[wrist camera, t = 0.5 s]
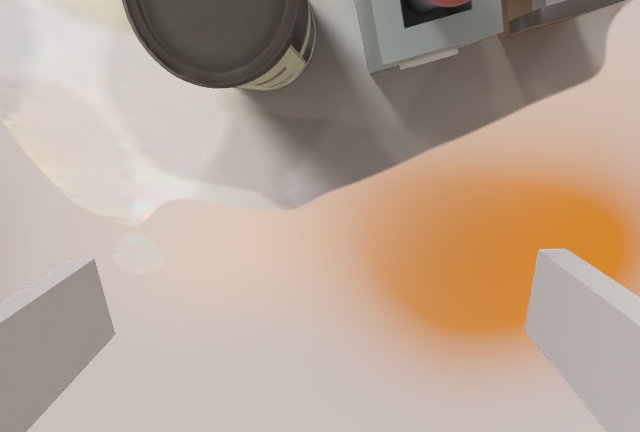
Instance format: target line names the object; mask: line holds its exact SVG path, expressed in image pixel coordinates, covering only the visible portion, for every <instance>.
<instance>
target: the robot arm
mask: <svg viewBox="0 0 640 432" xmlns="http://www.w3.org/2000/svg"><path fill="white" fill-rule="evenodd" d="M525 332H526V333H527V334H528V335H529V337H530V338H531V339H532V340H533V342H534V343H535V344H536V345H537V347H538V348H539V349H540V350H541V351H542V353H543V354H544V355H545V356H546V358H547V359H548V360H549V362H550V363H551V364H552V365H553V366H554V368H555V369H556V370H557V371H558V373H559V374H560V375H561V376H562V378H563V379H564V380H565V381H566V383H567V384H568V385H569V386H570V388H571V389H572V390H573V391H574V392H575V394H576V395H577V396H578V397H579V399H580V400H581V401H582V402H583V404H584V405H585V406H586V407H587V408H588V410H589V411H590V412H591V414H592V415H593V416H594V417H595V419H596V420H597V421H598V422H599V424H600V425H601V426H602V427H603V429H604V430H605V431H606V432H640V297H638V296H637V295H635V294H634V293H632V292H631V291H629V290H628V289H626V288H625V287H623V286H622V285H620V284H619V283H617V282H616V281H614V280H613V279H611V278H610V277H608V276H607V275H605V274H603V273H602V272H600V271H599V270H598V269H596V268H595V267H593V266H591V265H590V264H589V263H587V262H586V261H584V260H583V259H581V258H580V257H578V256H577V255H575V254H574V253H572V252H570V251H569V250H567V249H565V248H564V249H538V254H537V260H536V265H535V271H534V277H533V283H532V288H531V295H530V300H529V306H528V312H527V317H526V324H525ZM114 335H115V332H114V329H113V325H112V321H111V318H110V314H109V311H108V307H107V303H106V300H105V296H104V292H103V288H102V285H101V281H100V278H99V274H98V270H97V267H96V263H95V259H70V260H68V261H66V262H65V263H63V264H62V265H60V266H58V267H57V268H55V269H54V270H52V271H50V272H49V273H47V274H45V275H44V276H42V277H41V278H39V279H38V280H36V281H34V282H33V283H31V284H29V285H28V286H26V287H25V288H23V289H21V290H20V291H18V292H17V293H15V294H13V295H12V296H10V297H9V298H7V299H5V300H4V301H2V302H1V303H0V432H26V431H27V430H28V429H29V428H30V427H31V426H32V425H33V424H34V423H35V421H36V420H37V419H38V418H39V417H40V416H41V415H42V414H43V413H44V412H45V411H46V409H47V408H48V407H49V406H50V405H51V404H52V403H53V402H54V401H55V400H56V399H57V397H58V396H59V395H60V394H61V393H62V392H63V391H64V390H65V389H66V388H67V386H68V385H69V384H70V383H71V382H72V381H73V380H74V379H75V378H76V377H77V375H78V374H79V373H80V372H81V371H82V370H83V369H84V368H85V367H86V366H87V365H88V364H89V362H90V361H91V360H92V359H93V358H94V357H95V356H96V355H97V354H98V353H99V352H100V350H101V349H102V348H103V347H104V346H105V345H106V344H107V343H108V342H109V341H110V339H111V338H112V337H113V336H114Z"/></svg>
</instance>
